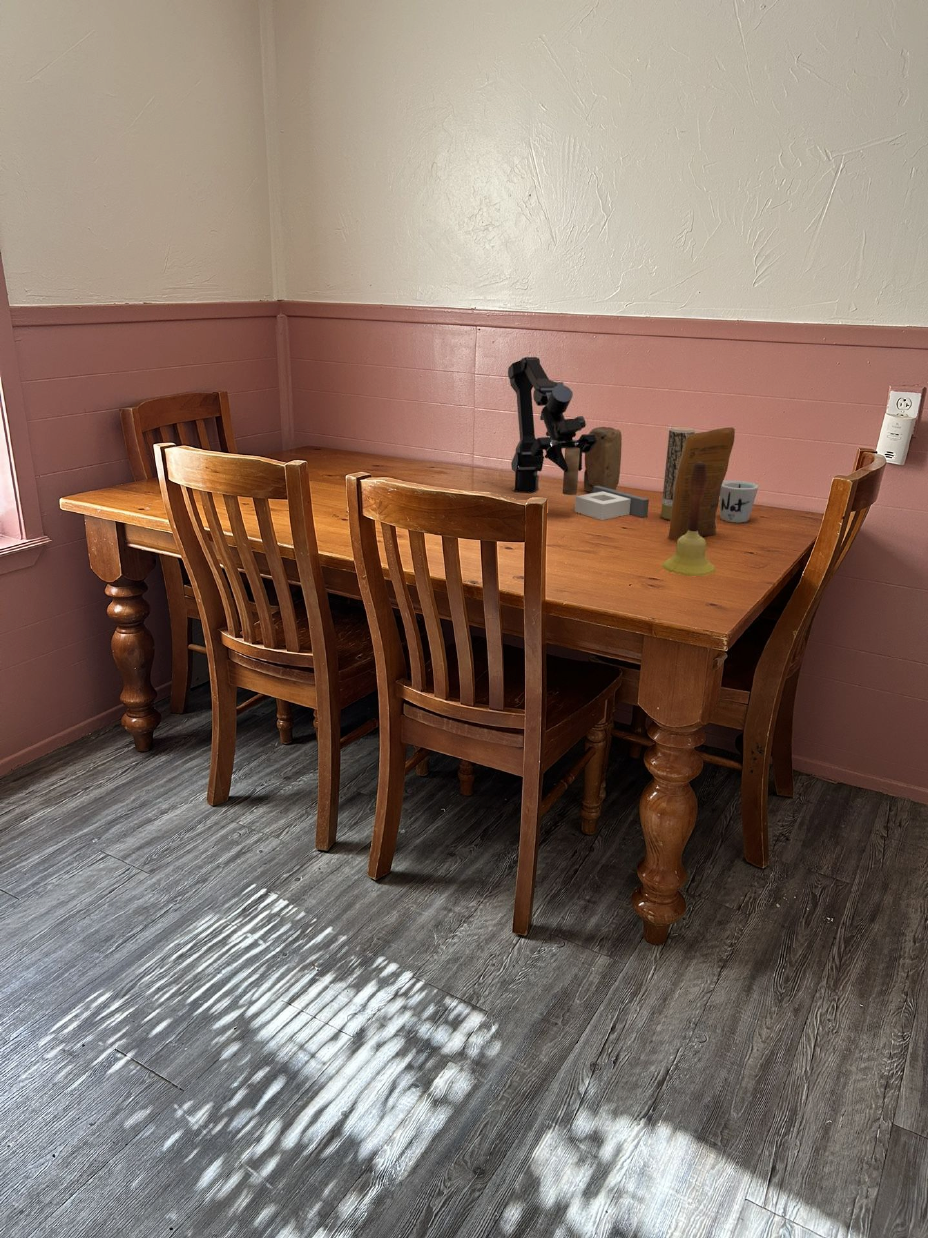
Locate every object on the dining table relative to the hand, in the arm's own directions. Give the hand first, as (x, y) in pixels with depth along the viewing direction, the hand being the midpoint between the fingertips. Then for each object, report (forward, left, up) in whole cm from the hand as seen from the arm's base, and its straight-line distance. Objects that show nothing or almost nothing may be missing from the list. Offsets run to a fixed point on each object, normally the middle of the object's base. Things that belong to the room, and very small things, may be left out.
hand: (573, 470), depth 241 cm
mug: (+42, +22, -14) cm, 49 cm away
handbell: (+39, -30, -14) cm, 51 cm away
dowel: (-1, +1, -7) cm, 7 cm away
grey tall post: (+26, +13, -14) cm, 32 cm away
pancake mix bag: (+35, -2, -14) cm, 37 cm away
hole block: (+6, +9, -13) cm, 17 cm away
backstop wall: (+10, +16, -13) cm, 23 cm away
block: (-2, +33, -14) cm, 36 cm away
